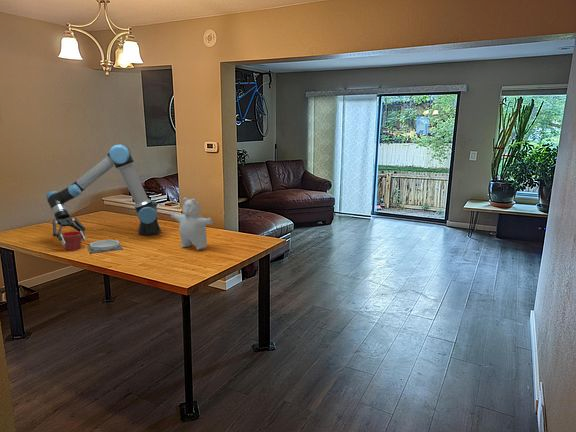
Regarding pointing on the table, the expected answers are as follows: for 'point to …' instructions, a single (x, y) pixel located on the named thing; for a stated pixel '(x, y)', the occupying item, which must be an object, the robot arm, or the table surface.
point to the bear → (192, 225)
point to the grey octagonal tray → (104, 246)
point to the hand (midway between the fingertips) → (74, 242)
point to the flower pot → (72, 240)
